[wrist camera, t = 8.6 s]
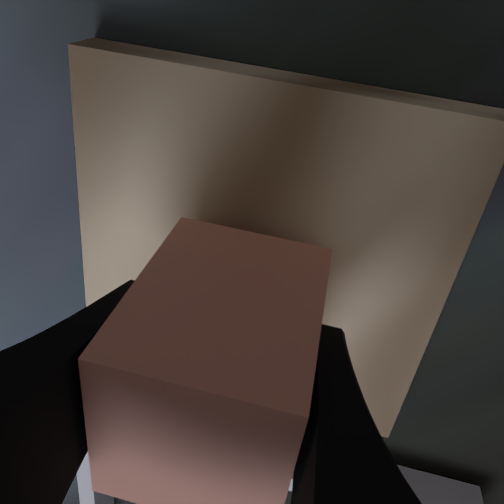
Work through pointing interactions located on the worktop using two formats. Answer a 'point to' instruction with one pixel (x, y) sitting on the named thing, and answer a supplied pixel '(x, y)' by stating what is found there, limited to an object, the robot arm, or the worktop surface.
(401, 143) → the board
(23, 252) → the worktop surface
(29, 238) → the worktop surface
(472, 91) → the worktop surface
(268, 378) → the terracotta block
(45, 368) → the robot arm
